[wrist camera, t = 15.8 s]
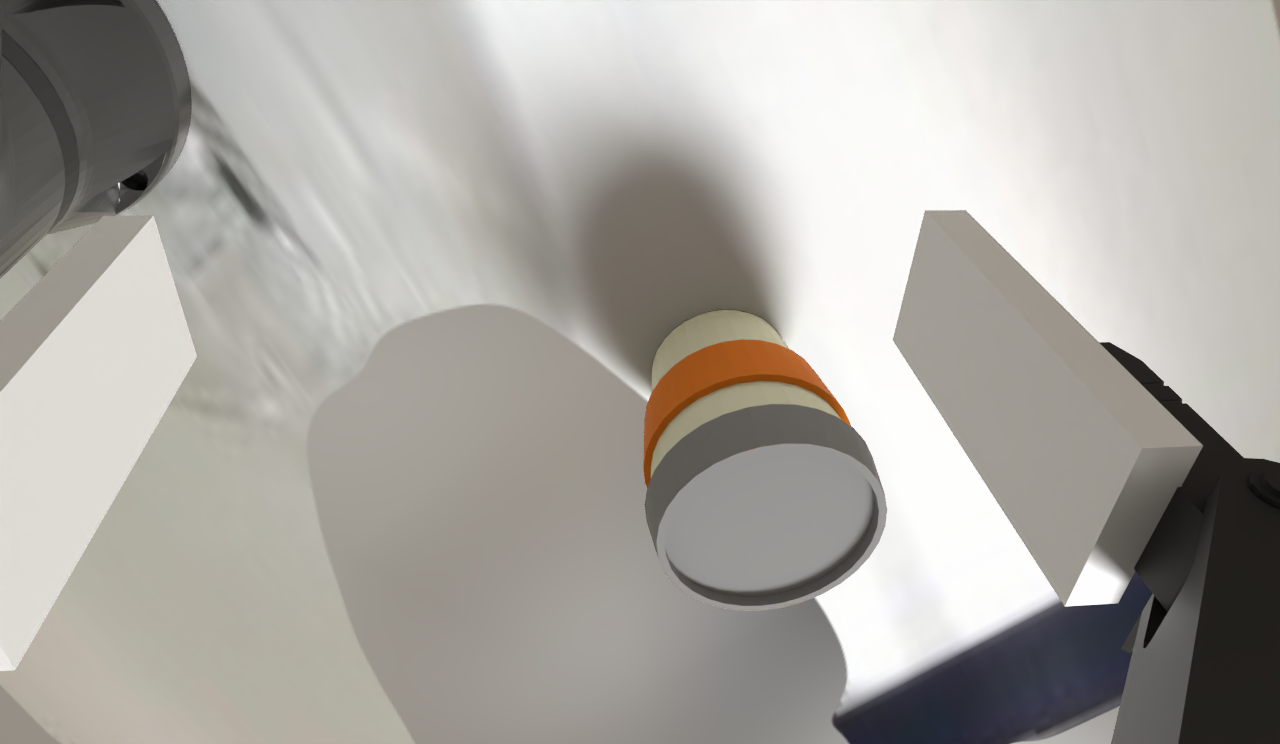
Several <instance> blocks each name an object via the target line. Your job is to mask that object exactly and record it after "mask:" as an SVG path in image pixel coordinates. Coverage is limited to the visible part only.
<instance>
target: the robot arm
mask: <svg viewBox="0 0 1280 744" xmlns="http://www.w3.org/2000/svg"><path fill="white" fill-rule="evenodd" d="M190 119H191V89H190V82H189V76H188V72H187V67H186V64H185V61H184V57H183V54H182V51H181V49H180V46H179V43H178V41H177V39H176V37H175V35H174V32H173V30H172V28H171V26H170V25H169V23H168V21H167V19H166V17H165V16H164V14H163V12H162V11H161V9H160V7H159V6H158V5H157V3H156V2H155V0H0V278H1V277H2V276H3V275H4V274H6V273H7V272H8V271H9V270H10V269H11V268H12V267H13V266H14V265H15V264H16V263H17V262H18V261H19V260H20V259H21V258H22V257H23V256H24V255H25V254H26V253H27V252H29V251H30V250H31V249H32V248H33V247H34V246H35V245H36V244H37V243H38V242H39V241H40V240H41V239H42V238H43V237H44V236H45V235H46V234H51V233H55V232H59V231H63V230H67V229H71V228H76V227H80V226H84V225H88V224H92V223H96V222H97V223H96V224H95V225H94V226H93V227H92V228H91V229H90V230H89V231H88V232H87V233H86V234H85V235H84V236H83V237H82V238H81V239H80V240H79V241H78V242H77V243H76V244H75V245H74V246H73V247H72V248H71V249H70V250H69V251H68V252H67V253H66V254H65V255H64V257H63V258H62V259H61V260H60V261H59V262H58V263H57V264H56V265H55V266H54V267H53V268H52V269H51V270H50V271H49V272H48V273H47V274H46V275H45V276H44V277H43V278H42V279H41V280H40V281H39V282H38V283H37V284H36V285H35V286H34V287H33V288H32V289H31V290H30V291H29V292H28V293H27V294H26V295H25V296H24V297H23V298H22V299H21V300H20V301H19V302H18V303H17V304H16V305H15V306H14V308H13V309H12V310H11V311H10V312H9V313H8V314H7V315H6V316H5V317H4V318H3V319H2V320H1V321H0V671H8V670H16V668H17V666H18V665H19V663H20V661H21V659H22V658H23V656H24V654H25V652H26V651H27V649H28V647H29V646H30V644H31V642H32V640H33V639H34V637H35V635H36V633H37V632H38V630H39V628H40V627H41V625H42V623H43V621H44V620H45V618H46V616H47V614H48V613H49V611H50V609H51V608H52V606H53V604H54V602H55V601H56V599H57V597H58V595H59V594H60V592H61V590H62V589H63V587H64V585H65V583H66V582H67V580H68V578H69V576H70V575H71V573H72V571H73V570H74V568H75V566H76V564H77V563H78V561H79V559H80V557H81V556H82V554H83V552H84V551H85V549H86V547H87V545H88V544H89V542H90V540H91V538H92V537H93V535H94V533H95V532H96V530H97V528H98V526H99V525H100V523H101V521H102V519H103V518H104V516H105V514H106V513H107V511H108V509H109V507H110V506H111V504H112V502H113V500H114V499H115V497H116V495H117V494H118V492H119V490H120V488H121V487H122V485H123V483H124V481H125V480H126V478H127V476H128V475H129V473H130V471H131V469H132V468H133V466H134V464H135V462H136V461H137V459H138V457H139V456H140V454H141V452H142V450H143V449H144V447H145V445H146V443H147V442H148V440H149V438H150V437H151V435H152V433H153V431H154V430H155V428H156V426H157V424H158V423H159V421H160V419H161V418H162V416H163V414H164V412H165V411H166V409H167V407H168V405H169V404H170V402H171V400H172V399H173V397H174V395H175V393H176V392H177V390H178V388H179V387H180V385H181V383H182V381H183V380H184V378H185V376H186V374H187V373H188V371H189V369H190V368H191V366H192V364H193V362H194V361H195V359H196V357H197V355H196V352H195V349H194V345H193V342H192V339H191V336H190V333H189V329H188V326H187V323H186V320H185V316H184V313H183V310H182V307H181V303H180V300H179V297H178V294H177V290H176V287H175V284H174V281H173V278H172V274H171V271H170V268H169V265H168V261H167V258H166V255H165V252H164V248H163V245H162V242H161V239H160V235H159V232H158V229H157V226H156V223H155V219H154V216H115V215H117V214H119V213H121V212H123V211H125V210H127V209H129V208H130V207H132V206H133V205H135V204H136V203H138V202H139V201H140V200H142V199H143V198H144V197H145V196H146V195H148V194H149V193H150V192H151V190H152V189H153V188H154V187H155V186H156V185H157V184H158V183H159V182H160V181H161V180H162V179H163V178H164V177H165V176H166V174H167V173H168V172H169V171H170V170H171V168H172V167H173V165H174V164H175V162H176V161H177V159H178V157H179V155H180V154H181V152H182V149H183V147H184V144H185V142H186V138H187V135H188V131H189V126H190ZM893 341H894V343H895V344H896V346H897V347H898V349H899V350H900V352H901V353H902V355H903V357H904V358H905V360H906V361H907V363H908V364H909V366H910V367H911V369H912V370H913V372H914V374H915V375H916V377H917V378H918V380H919V381H920V383H921V384H922V386H923V388H924V389H925V391H926V392H927V394H928V395H929V397H930V398H931V400H932V401H933V403H934V405H935V406H936V408H937V409H938V411H939V412H940V414H941V415H942V417H943V418H944V420H945V422H946V423H947V425H948V426H949V428H950V429H951V431H952V432H953V434H954V436H955V437H956V439H957V440H958V442H959V443H960V445H961V446H962V448H963V449H964V451H965V453H966V454H967V456H968V457H969V459H970V460H971V462H972V463H973V465H974V466H975V468H976V470H977V471H978V473H979V474H980V476H981V477H982V479H983V480H984V482H985V484H986V485H987V487H988V488H989V490H990V491H991V493H992V494H993V496H994V497H995V499H996V501H997V502H998V504H999V505H1000V507H1001V508H1002V510H1003V511H1004V513H1005V514H1006V516H1007V518H1008V519H1009V521H1010V522H1011V524H1012V525H1013V527H1014V528H1015V530H1016V532H1017V533H1018V535H1019V536H1020V538H1021V539H1022V541H1023V542H1024V544H1025V545H1026V547H1027V549H1028V550H1029V552H1030V553H1031V555H1032V556H1033V558H1034V559H1035V561H1036V563H1037V564H1038V566H1039V567H1040V569H1041V570H1042V572H1043V573H1044V575H1045V576H1046V578H1047V580H1048V581H1049V583H1050V584H1051V586H1052V587H1053V589H1054V590H1055V592H1056V593H1057V595H1058V597H1059V598H1060V600H1061V601H1062V603H1063V604H1064V606H1079V605H1096V604H1112V603H1118V602H1119V600H1120V598H1121V597H1122V595H1123V593H1124V591H1125V589H1126V587H1127V586H1128V584H1129V582H1130V580H1131V578H1132V576H1133V575H1134V573H1135V571H1136V572H1137V573H1138V575H1139V576H1140V577H1141V579H1142V580H1143V581H1144V583H1145V584H1146V585H1147V586H1148V588H1149V589H1150V590H1151V592H1152V593H1153V594H1152V596H1151V597H1150V599H1149V601H1148V603H1147V604H1146V606H1145V608H1144V610H1143V611H1142V613H1141V615H1140V617H1139V618H1138V620H1137V622H1136V624H1135V625H1134V627H1133V629H1132V631H1131V632H1130V634H1129V636H1128V638H1127V639H1126V641H1125V643H1124V645H1123V646H1122V648H1121V650H1124V651H1126V652H1128V653H1130V652H1131V651H1132V650H1133V653H1132V657H1131V661H1130V666H1129V670H1128V674H1127V678H1126V683H1125V687H1124V691H1123V696H1122V700H1121V704H1120V708H1119V713H1118V717H1117V722H1116V725H1115V730H1114V734H1113V739H1112V743H1111V744H1280V463H1277V462H1273V461H1269V460H1265V459H1251V458H1243V457H1242V456H1241V455H1240V454H1239V453H1238V452H1237V451H1236V450H1235V449H1234V448H1233V447H1232V446H1231V445H1230V444H1229V443H1228V442H1227V441H1225V440H1224V439H1223V438H1222V437H1221V436H1220V435H1219V434H1218V433H1217V432H1216V431H1215V430H1214V429H1213V428H1212V427H1211V426H1210V425H1209V424H1208V423H1207V422H1206V421H1204V420H1203V419H1202V418H1201V417H1200V416H1199V415H1198V414H1197V413H1196V412H1195V411H1194V410H1193V409H1192V408H1191V407H1190V406H1189V405H1188V404H1182V399H1181V398H1180V397H1179V396H1178V395H1177V394H1176V393H1175V392H1174V391H1173V390H1172V389H1171V388H1170V387H1169V386H1164V382H1163V381H1162V380H1161V379H1160V378H1159V377H1158V376H1157V375H1156V374H1155V373H1154V372H1153V371H1152V370H1151V369H1150V368H1149V367H1148V366H1147V365H1146V364H1145V363H1144V362H1142V361H1141V360H1140V359H1138V358H1136V357H1134V356H1133V355H1131V354H1129V353H1127V352H1126V351H1124V350H1122V349H1120V348H1119V347H1117V346H1115V345H1113V344H1112V343H1110V342H1105V343H1099V342H1098V341H1097V340H1096V339H1095V338H1094V337H1093V336H1092V335H1091V334H1090V333H1089V332H1088V331H1087V330H1086V329H1085V328H1084V327H1083V326H1082V325H1081V324H1080V323H1079V322H1078V321H1077V320H1076V319H1075V318H1074V317H1073V316H1072V315H1071V314H1070V313H1069V312H1068V311H1067V310H1066V309H1065V308H1064V307H1063V306H1062V305H1061V304H1060V303H1059V302H1058V301H1057V300H1056V299H1055V298H1054V297H1052V296H1051V295H1050V294H1049V293H1048V292H1047V291H1046V290H1045V289H1044V288H1043V287H1042V286H1041V285H1040V284H1039V283H1038V282H1037V281H1036V280H1035V279H1034V278H1033V277H1032V276H1031V275H1030V274H1029V273H1028V272H1027V271H1026V270H1025V269H1024V268H1023V267H1022V266H1021V265H1020V264H1019V263H1018V262H1017V261H1016V260H1015V259H1014V258H1013V257H1012V256H1011V255H1010V254H1009V253H1008V252H1007V251H1006V250H1005V249H1004V248H1003V247H1002V246H1001V245H1000V244H999V243H998V242H997V241H996V240H995V239H994V238H993V237H992V236H991V235H990V234H989V233H988V232H987V231H986V230H985V229H984V228H983V227H982V226H981V225H980V224H979V223H978V222H977V221H976V220H975V219H974V218H973V217H972V216H971V215H970V214H969V213H968V212H967V211H966V210H956V211H925V213H924V217H923V221H922V225H921V229H920V233H919V237H918V241H917V245H916V249H915V253H914V257H913V261H912V265H911V269H910V273H909V277H908V281H907V285H906V289H905V293H904V297H903V301H902V305H901V309H900V313H899V317H898V321H897V325H896V329H895V333H894V337H893ZM1133 648H1134V649H1133Z"/></svg>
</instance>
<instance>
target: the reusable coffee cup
mask: <svg viewBox="0 0 1280 744" xmlns="http://www.w3.org/2000/svg"><path fill="white" fill-rule="evenodd" d="M644 426H645V427H644V476H645V483H646V486H647V494H646V500H645V510H646V519H647V523H648V527H649V530H650V533H651V536H652V539H653V543H654V546H655V549H656V552H657V555H658V558H659V561H660V563H661V566H662V568H663V570H664V573H665V574H666V575H667V576H668V578H669V579H670V580H671V582H672V583H673V584H674V585H675V586H676V587H677V588H679V589H680V590H681V591H682V592H684V593H685V594H686V595H688V596H690V597H692V598H694V599H696V600H698V601H700V602H702V603H705V604H708V605H711V606H715V607H718V608H722V609H730V610H738V611H762V610H769V609H776V608H783V607H786V606H789V605H794V604H797V603H801V602H804V601H806V600H809V599H811V598H814V597H816V596H818V595H821V594H823V593H825V592H826V591H828V590H830V589H832V588H833V587H835V586H837V585H839V584H840V583H842V582H843V581H844V580H845V579H847V578H848V577H849V576H851V575H852V574H853V573H854V572H856V571H857V570H858V569H859V568H860V566H861V565H862V564H863V563H864V562H865V561H866V560H867V559H868V558H869V557H870V555H871V554H872V552H873V550H874V549H875V547H876V546H877V544H878V543H879V541H880V538H881V535H882V533H883V530H884V527H885V522H886V514H887V507H886V501H885V494H884V491H883V488H882V485H881V482H880V479H879V476H878V473H877V470H876V467H875V464H874V461H873V458H872V455H871V453H870V451H869V449H868V447H867V445H866V443H865V441H864V440H863V439H862V437H861V436H860V435H859V434H858V433H857V432H856V431H855V429H854V428H853V427H851V425H850V422H849V420H848V418H847V416H846V414H845V412H844V410H843V408H842V407H841V406H840V404H839V403H838V402H837V400H836V399H835V398H834V396H833V395H832V394H831V392H830V391H829V390H828V388H827V387H826V386H825V384H824V383H823V382H822V380H821V379H820V378H819V376H818V375H817V374H816V372H815V371H814V370H813V369H812V368H811V366H810V365H809V364H808V363H807V362H806V361H805V359H803V358H802V357H800V356H799V355H798V354H796V353H795V352H794V351H792V350H790V349H789V348H788V346H787V345H786V344H785V342H784V341H783V340H782V338H781V337H780V335H779V334H778V333H777V332H776V331H775V329H774V328H773V327H772V326H771V325H770V324H768V323H767V322H766V321H764V320H763V319H762V318H759V317H757V316H755V315H753V314H750V313H746V312H742V311H738V310H719V311H711V312H707V313H704V314H701V315H697V316H695V317H693V318H691V319H689V320H687V321H685V322H683V323H682V324H681V325H679V326H678V327H677V328H675V329H674V330H673V331H672V332H671V333H670V334H669V335H668V336H667V337H666V338H665V339H664V341H663V342H662V344H661V345H660V347H659V348H658V350H657V353H656V355H655V358H654V360H653V367H652V394H651V396H650V399H649V401H648V404H647V407H646V414H645V423H644Z"/></svg>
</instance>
